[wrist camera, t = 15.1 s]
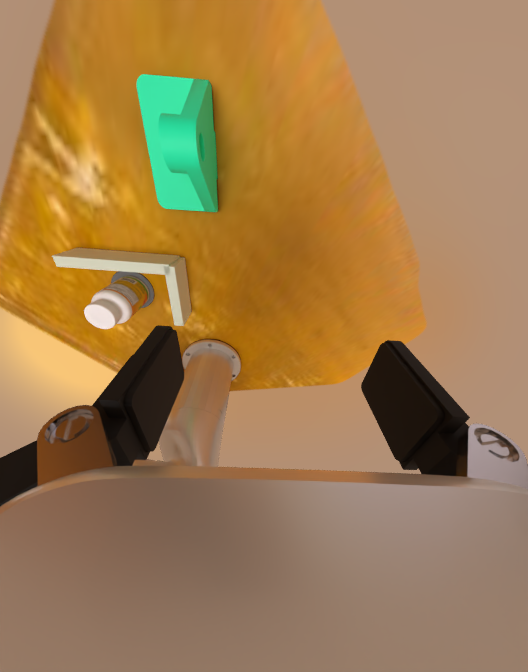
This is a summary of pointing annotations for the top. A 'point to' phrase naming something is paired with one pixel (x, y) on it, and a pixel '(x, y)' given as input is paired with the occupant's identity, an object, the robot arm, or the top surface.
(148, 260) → the corner walls
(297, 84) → the top surface
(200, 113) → the camera mount
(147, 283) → the pad
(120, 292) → the supplement bottle
